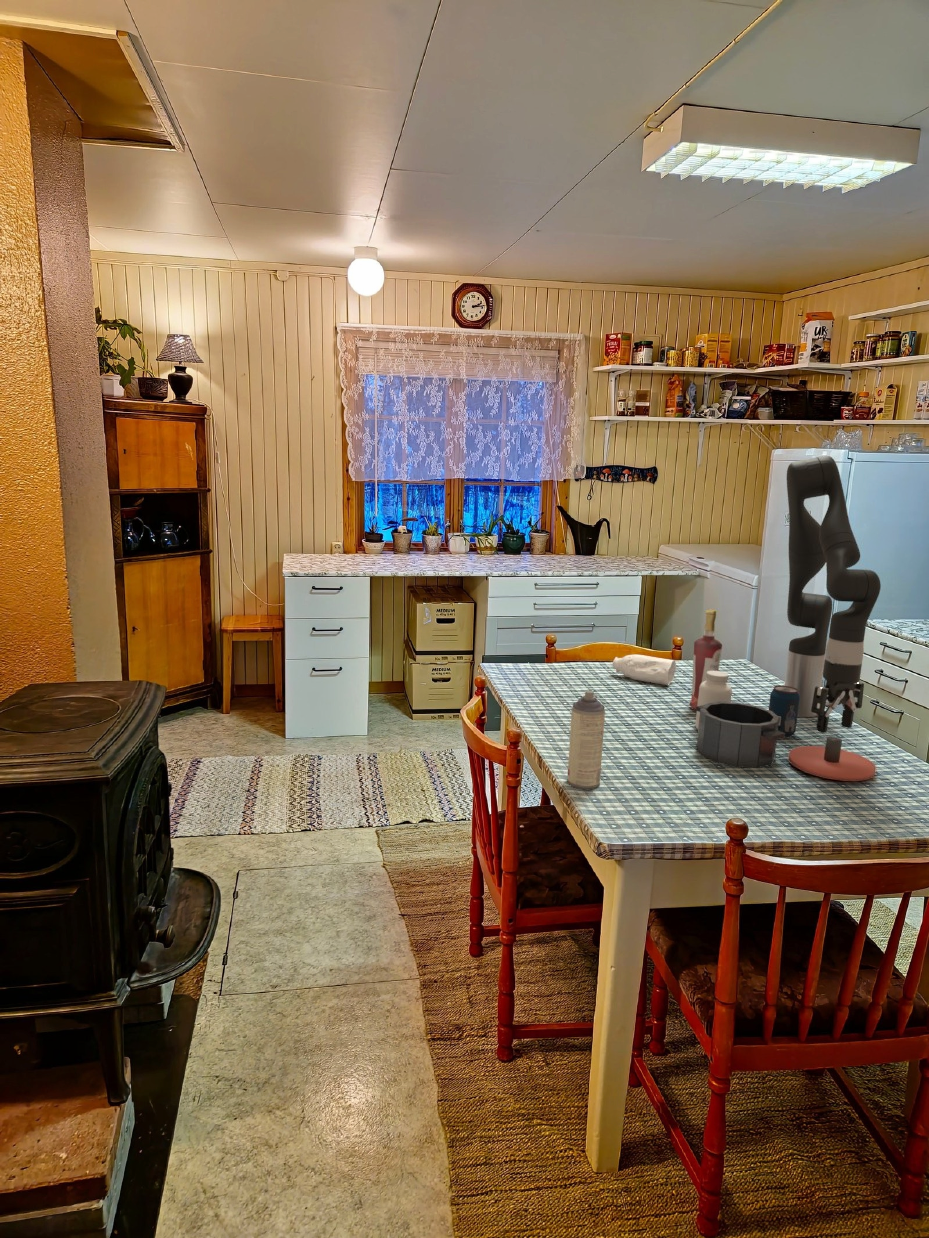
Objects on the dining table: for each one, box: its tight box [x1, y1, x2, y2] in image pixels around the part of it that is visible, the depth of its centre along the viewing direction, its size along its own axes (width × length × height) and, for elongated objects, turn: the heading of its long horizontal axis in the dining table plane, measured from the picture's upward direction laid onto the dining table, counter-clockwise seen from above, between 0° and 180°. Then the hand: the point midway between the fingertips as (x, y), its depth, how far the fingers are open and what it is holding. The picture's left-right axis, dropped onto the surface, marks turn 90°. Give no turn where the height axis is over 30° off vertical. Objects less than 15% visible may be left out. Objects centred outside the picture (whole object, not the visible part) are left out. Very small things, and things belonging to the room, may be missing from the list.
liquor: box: [689, 609, 723, 712], centre depth 220 cm, size 7×7×28 cm
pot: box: [695, 701, 786, 769], centre depth 189 cm, size 17×23×10 cm
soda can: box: [768, 685, 800, 739], centre depth 204 cm, size 7×7×12 cm
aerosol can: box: [566, 690, 606, 790], centre depth 168 cm, size 7×7×20 cm
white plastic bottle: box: [611, 654, 677, 687], centre depth 250 cm, size 8×19×8 cm, turn 58°
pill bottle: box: [694, 670, 733, 730], centre depth 205 cm, size 8×8×15 cm
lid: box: [788, 736, 877, 782], centre depth 182 cm, size 18×18×7 cm
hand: (833, 729), depth 181 cm, fingers open, 8 cm apart
